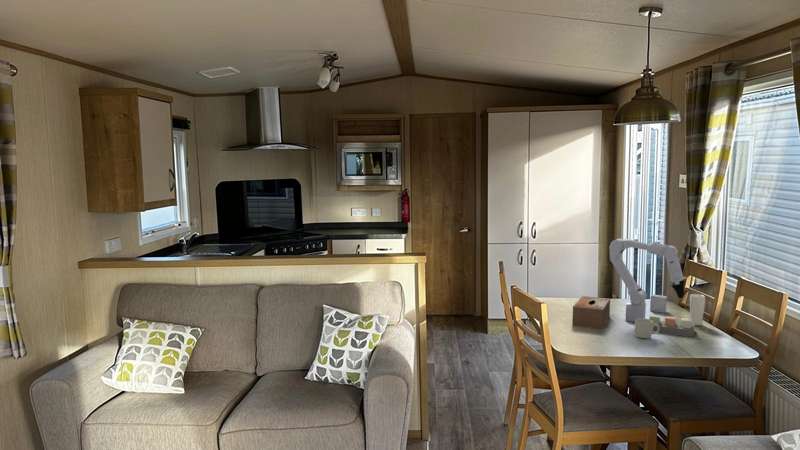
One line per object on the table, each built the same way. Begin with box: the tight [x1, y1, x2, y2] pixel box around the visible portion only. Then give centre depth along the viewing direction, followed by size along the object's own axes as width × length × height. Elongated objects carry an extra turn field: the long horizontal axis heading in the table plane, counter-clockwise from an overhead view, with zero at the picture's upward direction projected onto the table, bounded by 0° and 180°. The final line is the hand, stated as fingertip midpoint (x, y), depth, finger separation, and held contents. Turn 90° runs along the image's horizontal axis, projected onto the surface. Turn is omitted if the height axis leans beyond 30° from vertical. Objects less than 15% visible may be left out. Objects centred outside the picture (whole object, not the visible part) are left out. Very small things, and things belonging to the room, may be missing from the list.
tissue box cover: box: [572, 295, 611, 330], centre depth 295 cm, size 26×14×10 cm, turn 152°
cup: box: [634, 318, 660, 339], centre depth 267 cm, size 11×8×8 cm
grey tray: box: [653, 320, 696, 338], centre depth 278 cm, size 21×11×3 cm, turn 61°
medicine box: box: [649, 294, 668, 314], centre depth 314 cm, size 8×4×9 cm, turn 58°
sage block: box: [648, 313, 661, 325], centre depth 281 cm, size 4×4×4 cm
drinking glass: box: [689, 293, 706, 326], centre depth 288 cm, size 7×7×15 cm
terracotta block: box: [664, 315, 677, 327], centre depth 277 cm, size 4×4×4 cm
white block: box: [680, 317, 692, 329], centre depth 274 cm, size 4×4×4 cm
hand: (681, 296), depth 282 cm, fingers open, 7 cm apart
